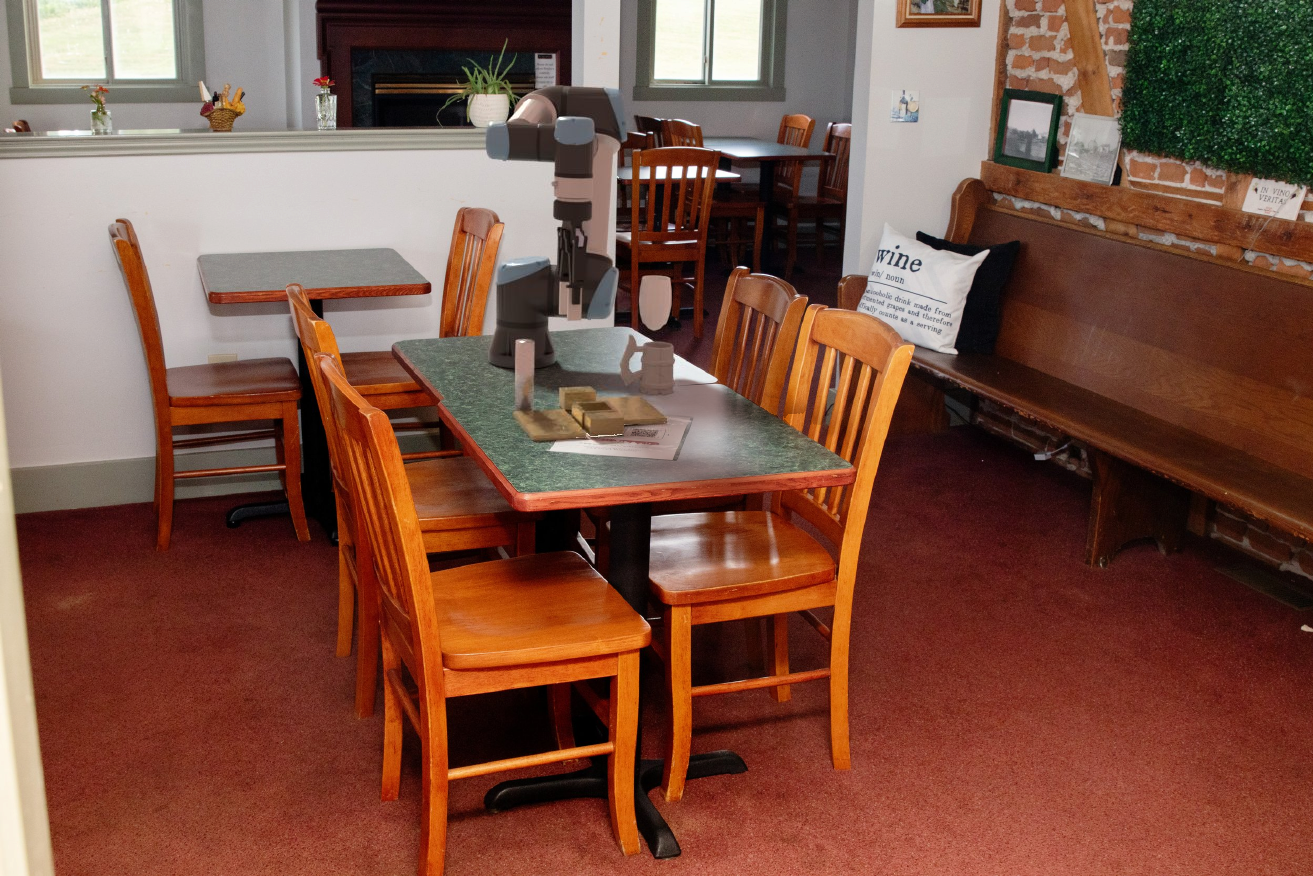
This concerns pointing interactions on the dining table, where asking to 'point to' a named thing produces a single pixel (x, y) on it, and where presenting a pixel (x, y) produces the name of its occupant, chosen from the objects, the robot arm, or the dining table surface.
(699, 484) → the dining table surface
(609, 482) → the dining table surface
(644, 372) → the mug
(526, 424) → the fixed leaf
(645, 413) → the hinge flap with knuckles
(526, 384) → the pin
